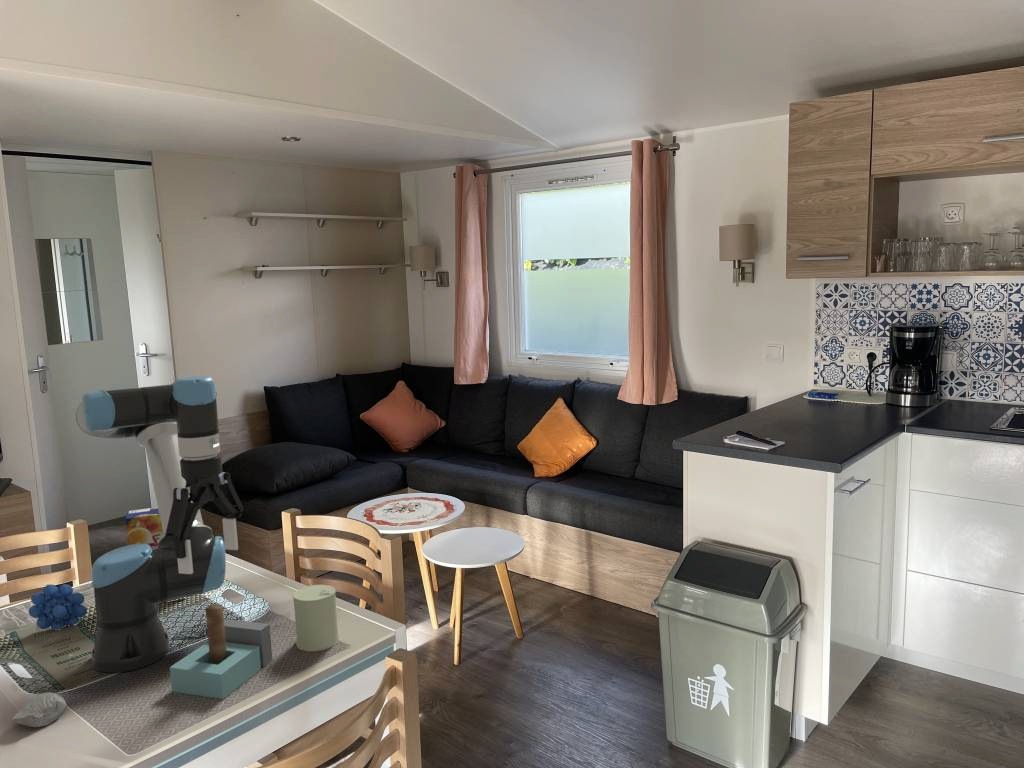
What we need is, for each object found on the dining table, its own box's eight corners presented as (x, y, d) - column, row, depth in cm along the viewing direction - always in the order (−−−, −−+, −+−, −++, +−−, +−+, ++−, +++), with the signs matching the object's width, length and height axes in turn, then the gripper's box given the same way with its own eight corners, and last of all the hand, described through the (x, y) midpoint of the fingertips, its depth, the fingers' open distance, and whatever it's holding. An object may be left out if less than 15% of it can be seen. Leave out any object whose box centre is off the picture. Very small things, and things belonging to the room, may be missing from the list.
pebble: (43, 735, 140) (40, 709, 139) (3, 732, 141) (0, 707, 140) (77, 709, 148) (74, 684, 148) (38, 707, 149) (35, 682, 149)
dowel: (208, 680, 157) (202, 609, 155) (218, 673, 160) (212, 603, 158) (221, 682, 156) (215, 611, 154) (232, 675, 159) (226, 604, 157)
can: (328, 653, 167) (324, 599, 166) (288, 650, 169) (284, 597, 168) (345, 634, 176) (342, 583, 175) (308, 631, 178) (304, 581, 176)
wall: (215, 660, 166) (212, 624, 165) (224, 653, 168) (221, 618, 167) (263, 666, 162) (260, 630, 161) (272, 660, 165) (269, 624, 164)
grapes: (33, 646, 176) (27, 595, 174) (30, 635, 181) (24, 586, 179) (91, 631, 182) (86, 582, 181) (87, 621, 188) (82, 574, 186)
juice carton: (187, 593, 203) (179, 504, 200) (187, 604, 196) (178, 512, 193) (137, 602, 199) (127, 511, 196) (134, 613, 192) (125, 518, 189)
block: (171, 691, 153) (169, 667, 153) (212, 662, 165) (210, 640, 164) (223, 699, 150) (221, 674, 149) (260, 669, 161) (259, 646, 160)
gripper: (170, 472, 139) (181, 585, 142) (255, 443, 163) (263, 541, 165) (136, 470, 141) (147, 582, 144) (225, 442, 165) (233, 539, 168)
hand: (209, 560), depth 155 cm, fingers open, 13 cm apart
